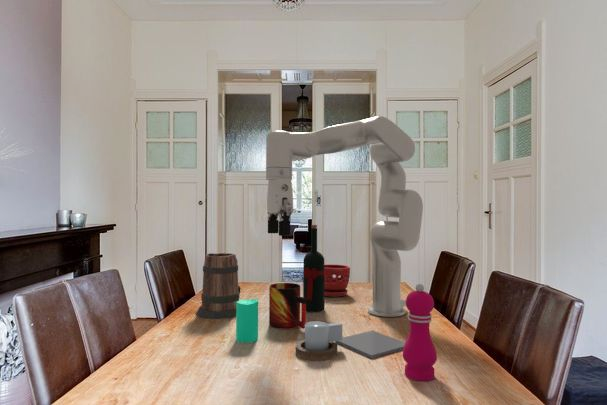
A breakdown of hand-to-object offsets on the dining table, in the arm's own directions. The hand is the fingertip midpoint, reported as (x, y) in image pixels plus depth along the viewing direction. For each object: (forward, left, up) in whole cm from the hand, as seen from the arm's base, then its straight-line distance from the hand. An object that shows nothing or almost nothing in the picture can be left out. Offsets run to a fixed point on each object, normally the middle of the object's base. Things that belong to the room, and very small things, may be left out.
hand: (278, 234), depth 116 cm
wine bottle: (-21, -20, -29) cm, 41 cm away
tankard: (+8, -33, -29) cm, 44 cm away
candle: (+9, 0, -29) cm, 30 cm away
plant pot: (-40, -39, -29) cm, 63 cm away
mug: (-7, -7, -29) cm, 30 cm away
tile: (-20, +18, -29) cm, 39 cm away
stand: (-4, +17, -29) cm, 34 cm away
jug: (-6, +17, -29) cm, 34 cm away
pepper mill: (-18, +39, -29) cm, 52 cm away
